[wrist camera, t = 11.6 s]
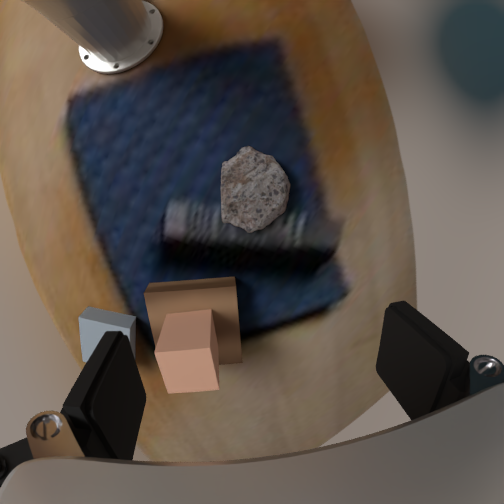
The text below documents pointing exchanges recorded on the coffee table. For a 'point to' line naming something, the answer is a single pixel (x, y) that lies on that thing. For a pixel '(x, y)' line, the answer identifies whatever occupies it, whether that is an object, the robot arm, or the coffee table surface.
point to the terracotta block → (188, 352)
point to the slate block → (103, 328)
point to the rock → (253, 190)
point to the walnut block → (199, 298)
